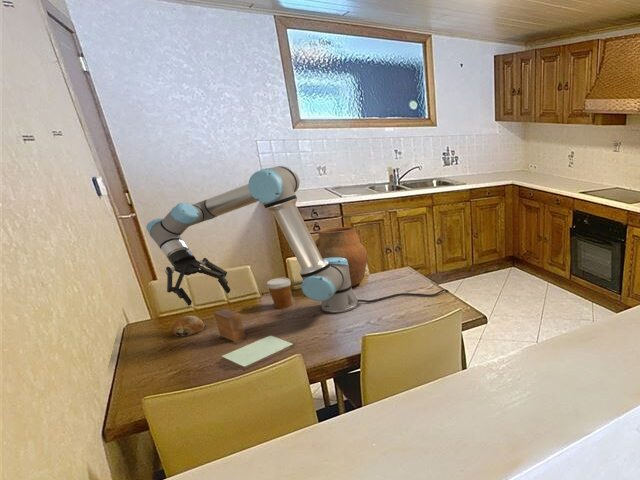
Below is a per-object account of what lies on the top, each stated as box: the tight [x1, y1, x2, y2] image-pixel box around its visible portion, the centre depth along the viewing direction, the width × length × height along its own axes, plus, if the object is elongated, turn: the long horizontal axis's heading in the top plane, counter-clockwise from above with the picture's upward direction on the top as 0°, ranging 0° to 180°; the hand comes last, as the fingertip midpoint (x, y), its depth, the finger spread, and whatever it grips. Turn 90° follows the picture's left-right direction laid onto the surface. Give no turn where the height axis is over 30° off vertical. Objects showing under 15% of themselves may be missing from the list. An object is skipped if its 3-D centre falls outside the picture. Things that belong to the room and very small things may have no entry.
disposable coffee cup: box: [266, 277, 292, 309], centre depth 193 cm, size 10×10×12 cm
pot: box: [314, 226, 368, 287], centre depth 215 cm, size 24×24×30 cm
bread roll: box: [172, 315, 206, 337], centre depth 170 cm, size 10×10×8 cm
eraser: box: [213, 308, 246, 342], centre depth 164 cm, size 4×10×11 cm, turn 61°
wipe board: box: [221, 334, 293, 367], centre depth 156 cm, size 18×14×1 cm
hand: (210, 297), depth 164 cm, fingers open, 13 cm apart
